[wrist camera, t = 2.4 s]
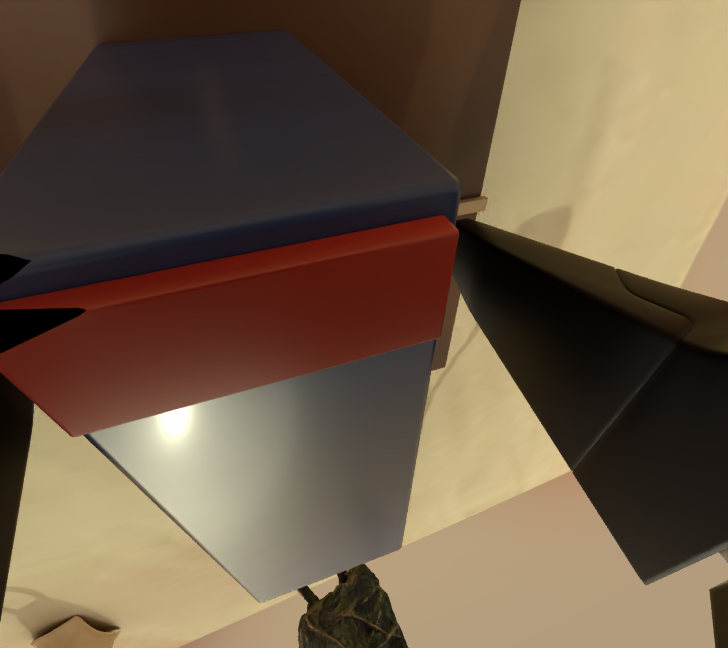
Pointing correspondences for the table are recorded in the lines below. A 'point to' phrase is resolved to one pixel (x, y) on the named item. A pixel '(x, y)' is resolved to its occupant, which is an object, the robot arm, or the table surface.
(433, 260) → the blue block
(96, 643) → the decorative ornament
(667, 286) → the robot arm
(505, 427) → the table surface
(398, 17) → the brown slab
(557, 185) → the table surface
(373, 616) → the plant with pod
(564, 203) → the table surface
